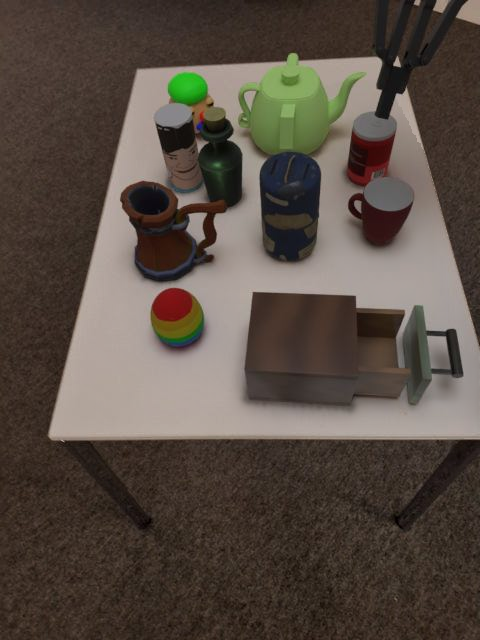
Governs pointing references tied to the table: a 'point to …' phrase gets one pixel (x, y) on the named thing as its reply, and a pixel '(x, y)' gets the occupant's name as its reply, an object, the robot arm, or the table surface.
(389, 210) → the mug
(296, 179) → the canister
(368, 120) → the canned food
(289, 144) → the teapot
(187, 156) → the printed cylinder container
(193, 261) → the mug
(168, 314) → the decorative egg
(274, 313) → the cabinet
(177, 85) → the figurine
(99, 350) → the table surface
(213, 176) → the potion bottle
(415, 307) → the drawer
